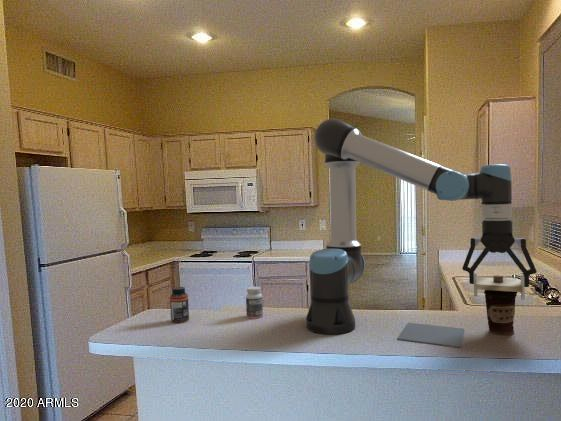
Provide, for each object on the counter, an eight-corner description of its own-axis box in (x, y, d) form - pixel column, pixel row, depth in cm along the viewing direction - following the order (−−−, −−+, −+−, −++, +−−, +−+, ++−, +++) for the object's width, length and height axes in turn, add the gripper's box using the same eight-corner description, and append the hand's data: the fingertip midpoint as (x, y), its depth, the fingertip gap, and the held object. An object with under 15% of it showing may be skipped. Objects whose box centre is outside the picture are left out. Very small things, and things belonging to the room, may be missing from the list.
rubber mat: (397, 339, 111) (397, 338, 110) (407, 323, 125) (407, 322, 125) (460, 347, 103) (460, 346, 103) (464, 329, 117) (464, 328, 117)
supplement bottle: (175, 318, 139) (174, 285, 139) (192, 318, 138) (190, 285, 138) (167, 323, 133) (166, 289, 133) (184, 323, 132) (183, 289, 132)
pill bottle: (248, 314, 141) (247, 286, 141) (264, 314, 140) (263, 286, 140) (245, 319, 135) (244, 289, 135) (261, 318, 135) (260, 289, 135)
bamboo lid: (476, 289, 111) (475, 278, 111) (477, 281, 121) (477, 272, 121) (522, 292, 106) (521, 280, 106) (519, 284, 116) (519, 273, 116)
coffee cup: (523, 337, 109) (522, 290, 108) (490, 336, 110) (489, 289, 110) (511, 327, 117) (510, 283, 117) (481, 327, 119) (480, 283, 119)
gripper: (450, 220, 115) (452, 296, 116) (548, 219, 104) (549, 303, 105) (453, 219, 122) (454, 291, 122) (544, 218, 111) (546, 297, 111)
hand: (498, 297), depth 114 cm, fingers closed on bamboo lid, 11 cm apart
